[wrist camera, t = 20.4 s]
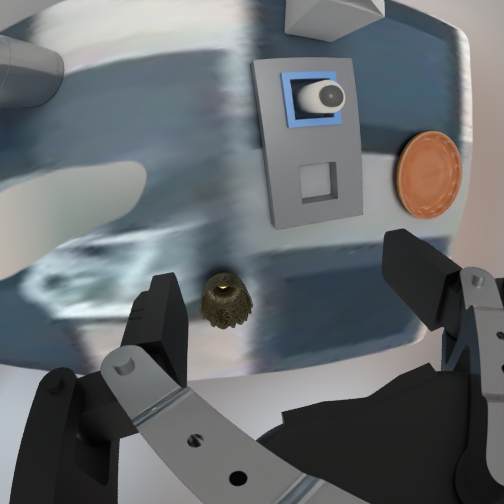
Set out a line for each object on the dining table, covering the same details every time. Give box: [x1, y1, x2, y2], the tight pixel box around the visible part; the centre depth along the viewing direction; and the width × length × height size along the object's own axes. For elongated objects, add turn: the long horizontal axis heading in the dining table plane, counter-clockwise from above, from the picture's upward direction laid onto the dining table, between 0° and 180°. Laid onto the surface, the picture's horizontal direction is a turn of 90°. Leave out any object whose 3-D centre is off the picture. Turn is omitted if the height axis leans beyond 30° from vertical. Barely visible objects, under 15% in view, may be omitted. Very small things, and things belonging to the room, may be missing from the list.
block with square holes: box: [251, 57, 363, 230], centre depth 38 cm, size 14×24×3 cm, turn 8°
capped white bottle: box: [292, 80, 345, 113], centre depth 32 cm, size 4×4×10 cm
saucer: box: [396, 131, 462, 219], centre depth 43 cm, size 16×16×3 cm
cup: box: [199, 272, 253, 329], centre depth 44 cm, size 8×7×8 cm
